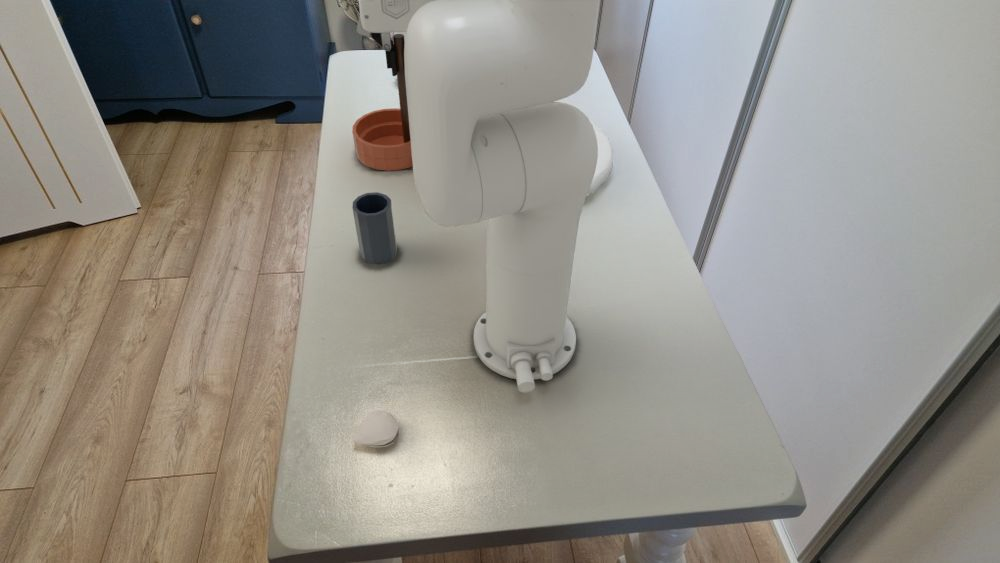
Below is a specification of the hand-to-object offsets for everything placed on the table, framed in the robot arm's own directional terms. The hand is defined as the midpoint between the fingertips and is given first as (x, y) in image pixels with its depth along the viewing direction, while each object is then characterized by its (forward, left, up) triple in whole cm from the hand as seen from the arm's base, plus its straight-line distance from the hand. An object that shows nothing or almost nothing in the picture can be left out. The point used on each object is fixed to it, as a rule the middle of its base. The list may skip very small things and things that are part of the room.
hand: (401, 71), depth 101 cm
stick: (0, 0, -13) cm, 13 cm away
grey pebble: (-55, +5, -15) cm, 58 cm away
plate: (-5, -19, -15) cm, 25 cm away
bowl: (+1, +3, -15) cm, 15 cm away
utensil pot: (-25, +5, -15) cm, 30 cm away
